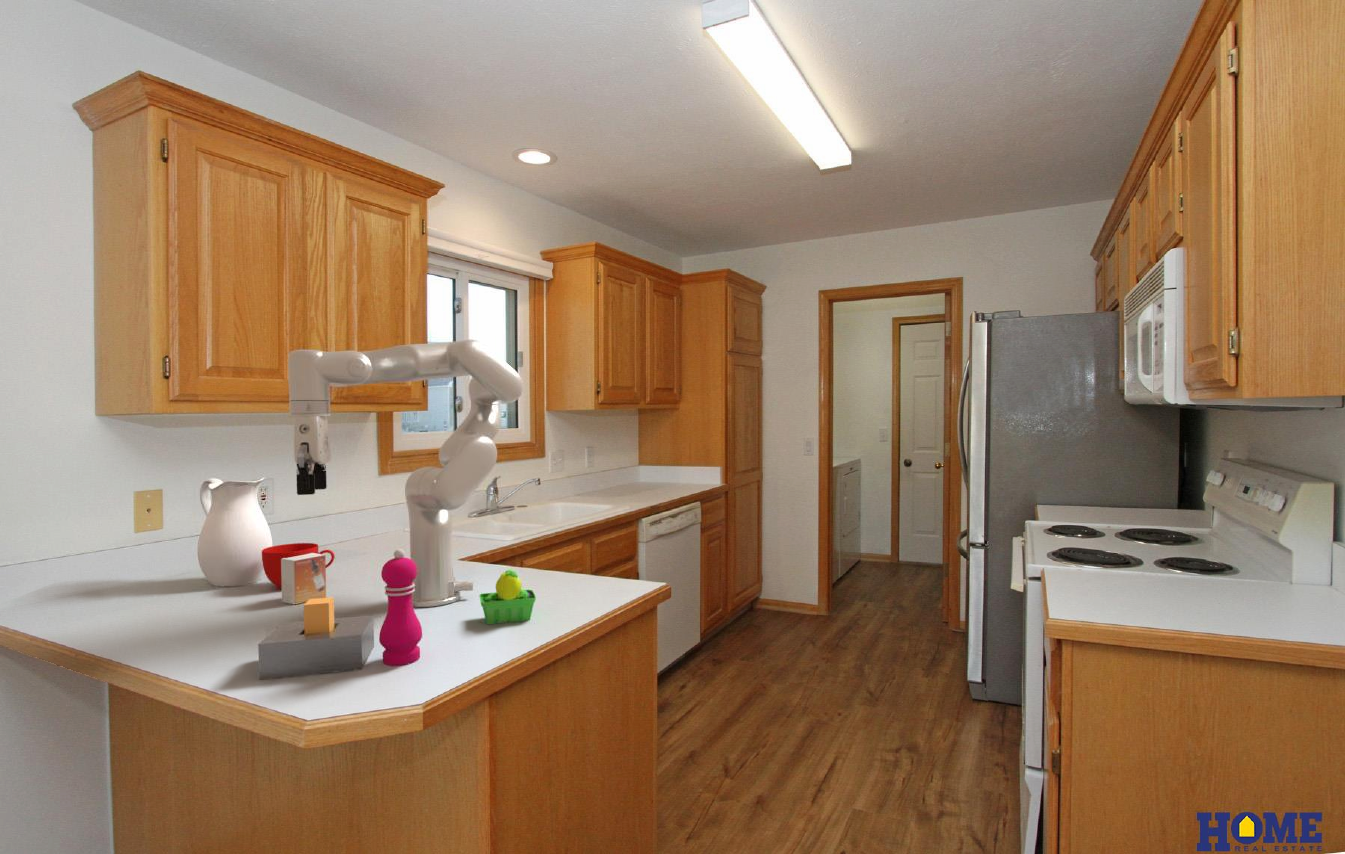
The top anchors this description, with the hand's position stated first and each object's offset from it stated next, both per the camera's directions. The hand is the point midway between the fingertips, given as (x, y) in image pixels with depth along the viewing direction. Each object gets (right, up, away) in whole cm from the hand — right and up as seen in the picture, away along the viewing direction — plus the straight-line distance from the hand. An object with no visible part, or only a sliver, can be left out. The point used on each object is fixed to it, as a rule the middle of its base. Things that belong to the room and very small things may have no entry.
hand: (312, 491), depth 143 cm
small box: (-13, -28, +22) cm, 38 cm away
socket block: (+12, -29, -20) cm, 37 cm away
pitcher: (-45, -28, +43) cm, 68 cm away
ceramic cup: (-22, -28, +36) cm, 51 cm away
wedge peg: (+12, -29, -20) cm, 37 cm away
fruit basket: (+40, -28, +4) cm, 49 cm away
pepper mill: (+26, -29, -19) cm, 43 cm away
